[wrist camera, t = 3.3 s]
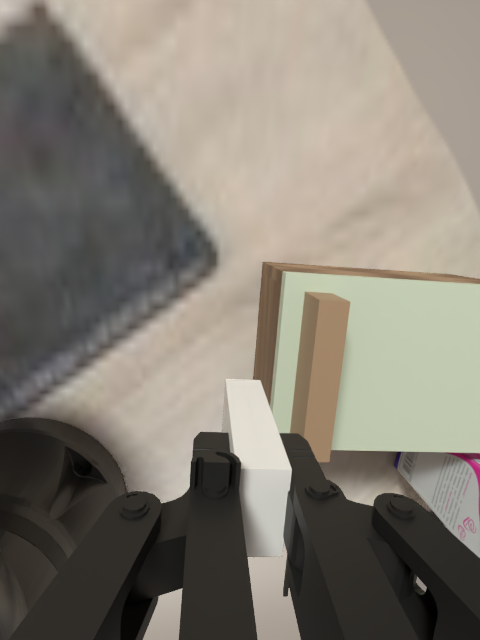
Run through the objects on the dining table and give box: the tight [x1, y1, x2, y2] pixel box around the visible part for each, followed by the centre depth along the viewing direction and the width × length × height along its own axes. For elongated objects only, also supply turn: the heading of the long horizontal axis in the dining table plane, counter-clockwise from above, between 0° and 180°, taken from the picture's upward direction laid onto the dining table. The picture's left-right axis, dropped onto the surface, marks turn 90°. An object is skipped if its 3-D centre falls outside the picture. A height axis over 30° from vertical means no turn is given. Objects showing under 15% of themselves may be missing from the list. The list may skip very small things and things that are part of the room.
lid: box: [270, 271, 480, 462], centre depth 23 cm, size 16×11×4 cm
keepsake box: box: [253, 262, 480, 406], centre depth 29 cm, size 16×11×8 cm
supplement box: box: [394, 451, 480, 558], centre depth 30 cm, size 6×6×12 cm
